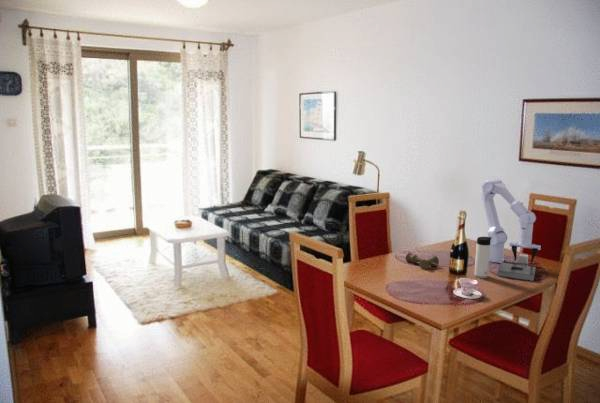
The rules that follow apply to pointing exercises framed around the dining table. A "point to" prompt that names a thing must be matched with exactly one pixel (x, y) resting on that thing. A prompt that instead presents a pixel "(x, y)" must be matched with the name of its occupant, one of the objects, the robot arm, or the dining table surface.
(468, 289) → the teacup
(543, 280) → the dining table surface
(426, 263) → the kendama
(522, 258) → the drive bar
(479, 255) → the travel mug
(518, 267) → the socket plate
